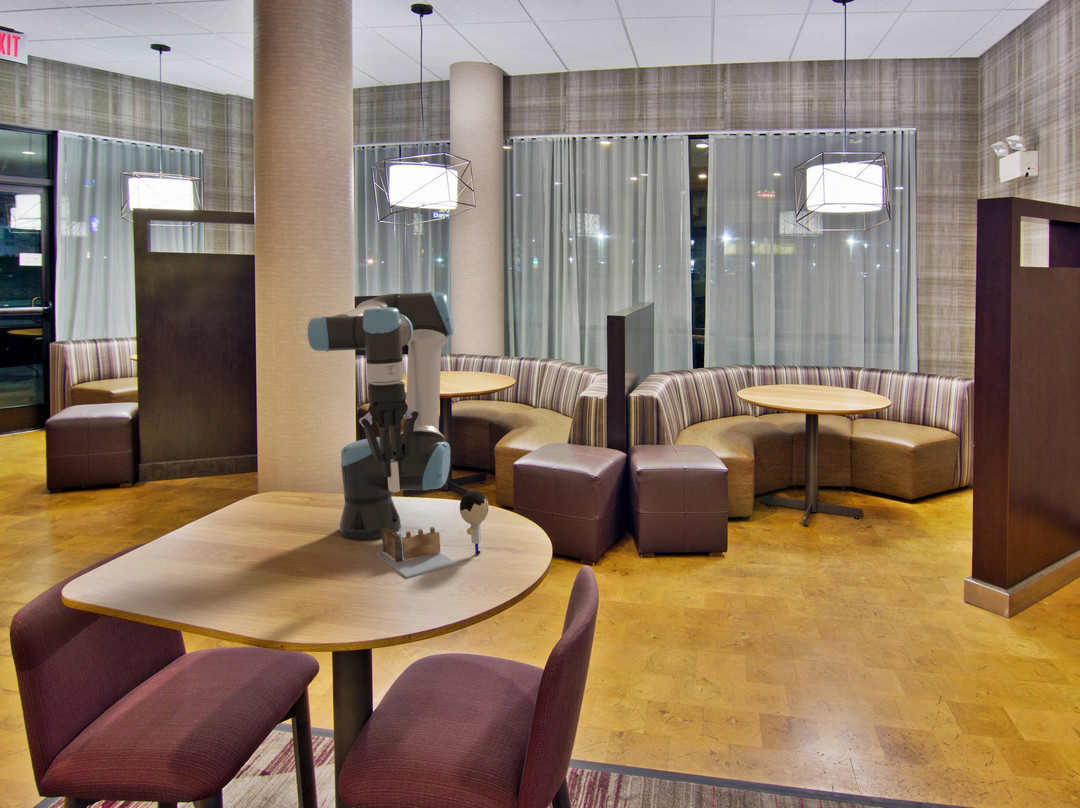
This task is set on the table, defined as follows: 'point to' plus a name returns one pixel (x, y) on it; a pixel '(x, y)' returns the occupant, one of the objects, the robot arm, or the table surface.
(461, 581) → the table surface
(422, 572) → the card
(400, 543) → the fence fixed
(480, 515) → the toy
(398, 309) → the robot arm
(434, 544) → the notched wooden bar
